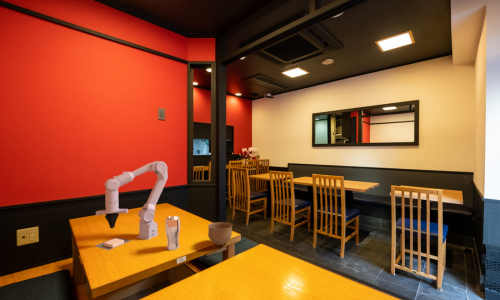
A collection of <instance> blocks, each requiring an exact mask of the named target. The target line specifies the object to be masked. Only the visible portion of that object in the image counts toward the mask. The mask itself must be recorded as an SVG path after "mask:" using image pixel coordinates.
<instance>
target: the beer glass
mask: <svg viewBox="0 0 500 300" xmlns="http://www.w3.org/2000/svg"><path fill="white" fill-rule="evenodd" d="M164 226H165V234H166V235H165V236H166V239H167V240H166V241H167V244H166V250H168V251H174V250H175V251H176V250H178V249H179V248H180V241H179V238H180V233H181V232H180V230H181V221H180V216H179V215H172V216H168V217H166V218H165V225H164Z"/></svg>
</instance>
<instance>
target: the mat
mask: <svg viewBox="0 0 500 300" xmlns="http://www.w3.org/2000/svg"><path fill="white" fill-rule="evenodd" d="M115 238H117V239H121V240H124V244H126V243H129V242H131V241H132V240H131V239H130V240H129V239H127V238H126V239H125V238H122V237H114V238H111V239H109V240H106V241H104V242H107V241H110V240H112V239H115ZM104 242H102V243H99V244H97V245H96V244H95V245H94V247H95V248H100V249H103V250H107V251H110V250H113V249H115V248H117V247H120V246H122V245H124V244H121V245H119V246H117V247H114V248H111V247H107V246H104Z"/></svg>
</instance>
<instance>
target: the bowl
mask: <svg viewBox="0 0 500 300" xmlns="http://www.w3.org/2000/svg"><path fill="white" fill-rule="evenodd" d="M232 227H233V223H229V222H225V221H224V222H223V221H222V222H219V221H217V222H212V223H209V224H208V228H207V229H208V231H207V232H208V233H207V234H208V238H209V240H210V241H211V242H212V243H214V245H216V246H223V245H225V244H226V243H227V242H228V241H229V240H230V239H231V237H232V234H233V233H232V232H233V228H232Z"/></svg>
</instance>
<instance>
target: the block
mask: <svg viewBox="0 0 500 300" xmlns="http://www.w3.org/2000/svg"><path fill="white" fill-rule="evenodd" d="M114 238H115V239H114ZM114 238H111V239H112V240H111V239H109V240H110V241H109V240H106V241H107V242H106V241H104V246H107V247H111V248H113V249H115V248H117V246H118V247H120V246H122V245H124V240H121V239H117V238H116V237H114ZM121 244H122V245H121ZM119 245H120V246H119ZM114 247H115V248H114Z"/></svg>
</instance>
